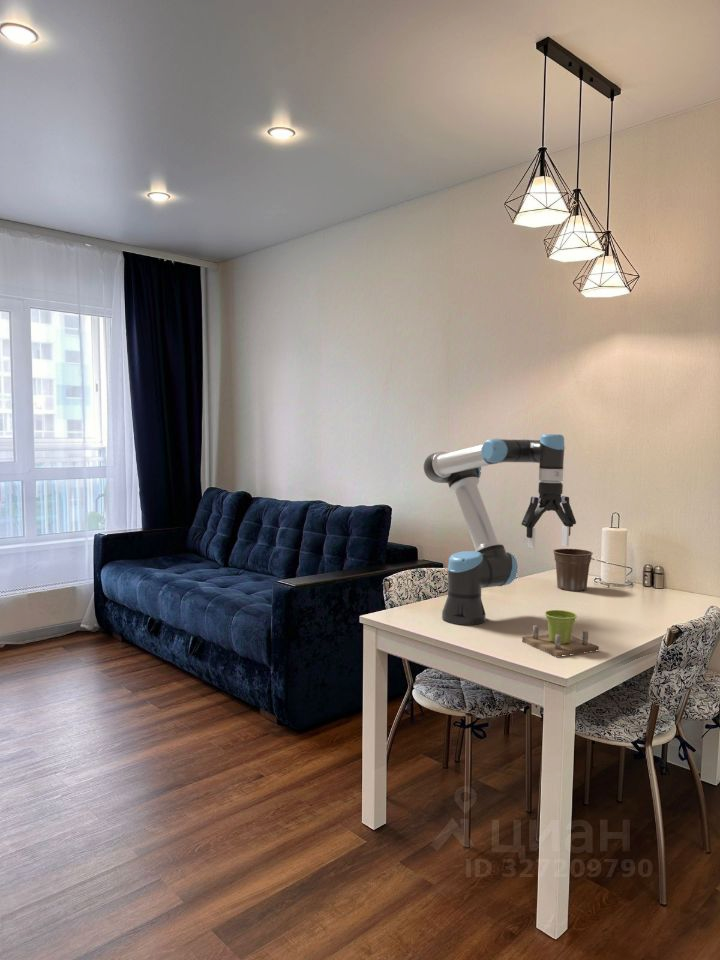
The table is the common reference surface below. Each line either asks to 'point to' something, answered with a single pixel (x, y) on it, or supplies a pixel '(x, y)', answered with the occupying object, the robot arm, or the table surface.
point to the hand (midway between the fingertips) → (548, 547)
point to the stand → (559, 644)
